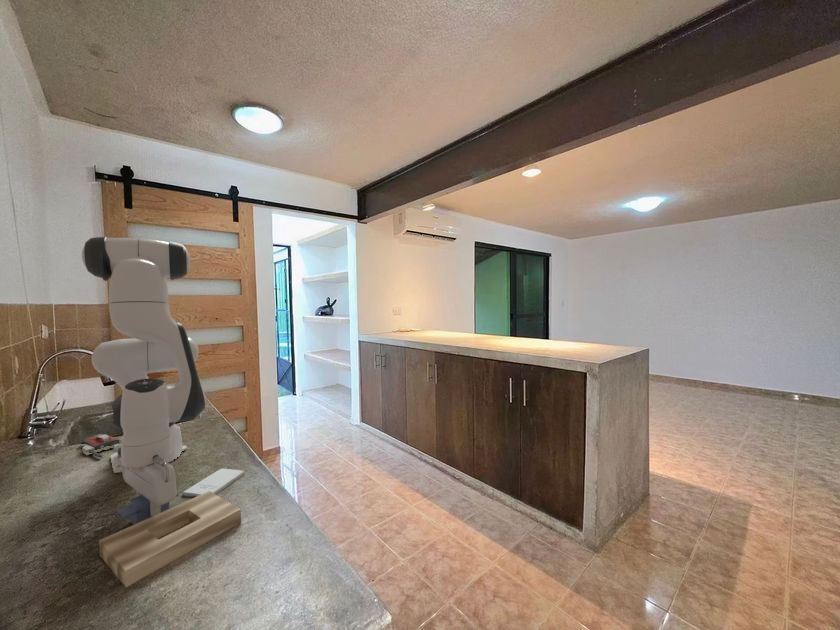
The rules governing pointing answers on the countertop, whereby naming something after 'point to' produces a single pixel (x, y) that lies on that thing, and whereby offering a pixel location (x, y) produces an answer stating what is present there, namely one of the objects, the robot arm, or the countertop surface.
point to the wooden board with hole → (144, 553)
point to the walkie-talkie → (98, 443)
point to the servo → (139, 509)
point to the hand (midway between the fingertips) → (149, 510)
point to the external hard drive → (214, 482)
